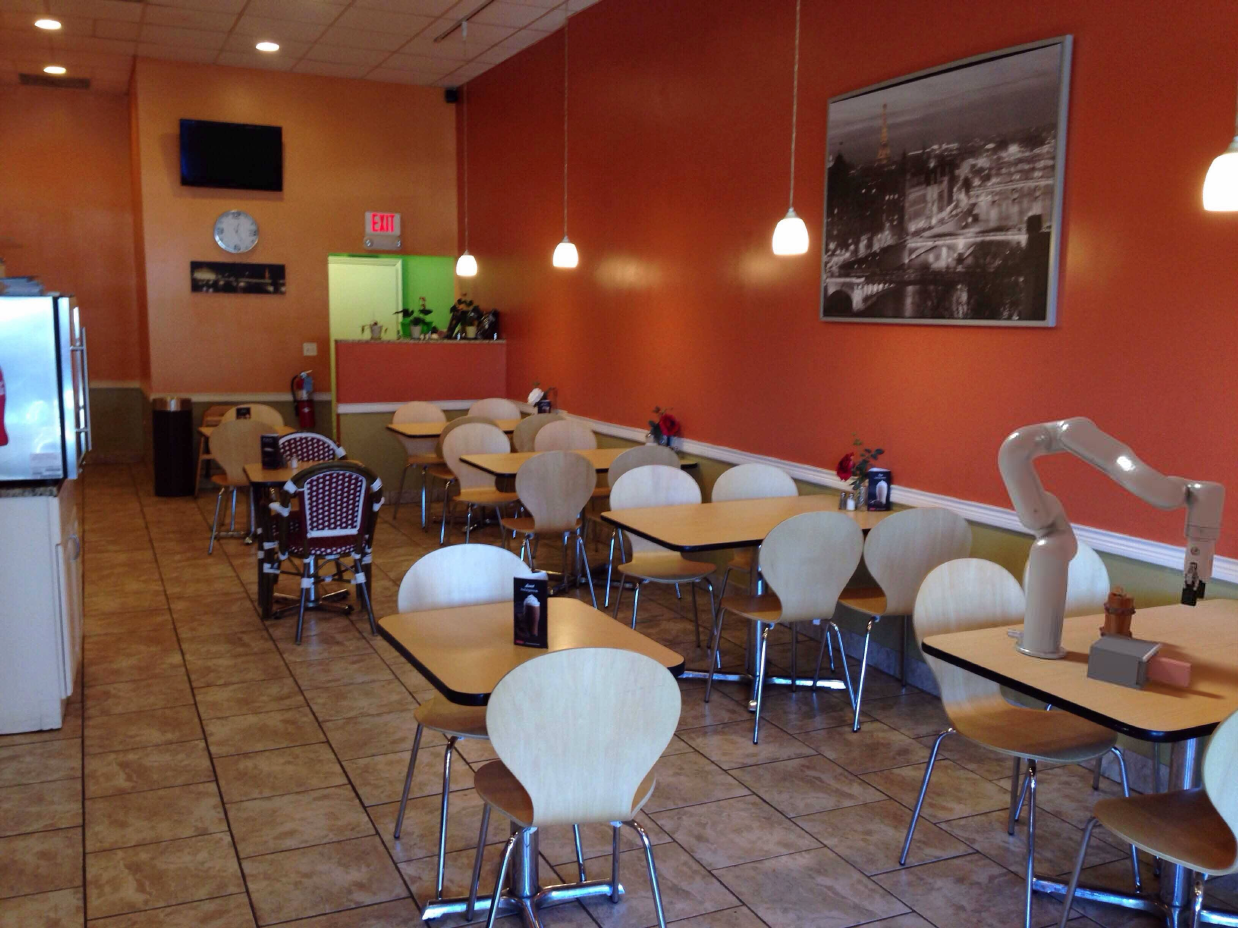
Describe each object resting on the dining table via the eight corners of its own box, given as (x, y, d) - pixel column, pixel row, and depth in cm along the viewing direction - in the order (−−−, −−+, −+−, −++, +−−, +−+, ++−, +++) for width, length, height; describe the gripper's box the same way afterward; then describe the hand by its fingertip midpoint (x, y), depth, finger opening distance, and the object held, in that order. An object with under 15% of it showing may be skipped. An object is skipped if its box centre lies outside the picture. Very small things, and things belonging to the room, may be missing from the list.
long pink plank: (1105, 667, 258) (1107, 648, 258) (1108, 664, 261) (1111, 645, 260) (1185, 686, 247) (1188, 666, 246) (1188, 683, 249) (1191, 663, 249)
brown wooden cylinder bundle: (1133, 652, 276) (1140, 598, 274) (1099, 648, 279) (1106, 593, 277) (1127, 637, 290) (1133, 585, 288) (1095, 633, 293) (1101, 581, 290)
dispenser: (1086, 676, 255) (1090, 644, 254) (1104, 662, 267) (1108, 631, 266) (1142, 690, 247) (1146, 657, 246) (1158, 674, 259) (1162, 643, 258)
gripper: (1212, 540, 241) (1202, 611, 243) (1225, 530, 254) (1216, 598, 257) (1176, 534, 246) (1167, 604, 248) (1191, 525, 259) (1182, 591, 261)
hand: (1192, 601), depth 252 cm, fingers open, 9 cm apart
